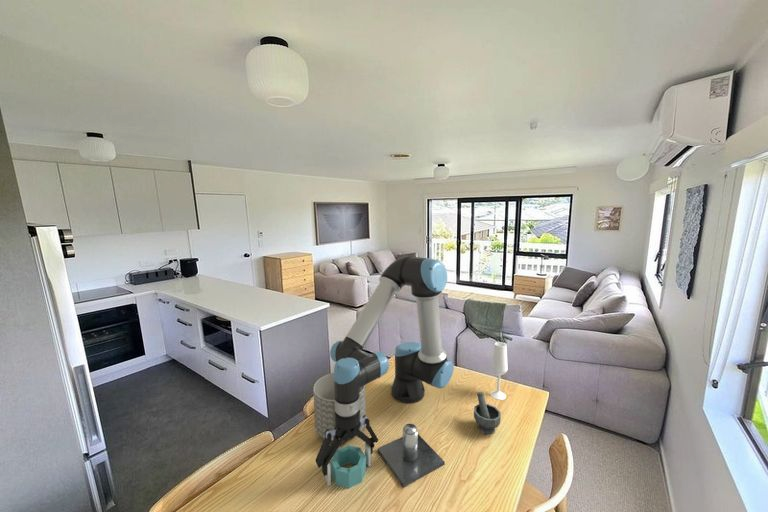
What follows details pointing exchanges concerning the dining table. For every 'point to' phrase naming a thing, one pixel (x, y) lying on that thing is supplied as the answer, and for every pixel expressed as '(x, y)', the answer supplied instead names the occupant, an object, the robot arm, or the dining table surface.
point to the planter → (330, 405)
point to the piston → (410, 456)
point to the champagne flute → (499, 367)
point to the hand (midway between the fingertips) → (348, 472)
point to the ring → (353, 474)
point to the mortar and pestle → (486, 415)
